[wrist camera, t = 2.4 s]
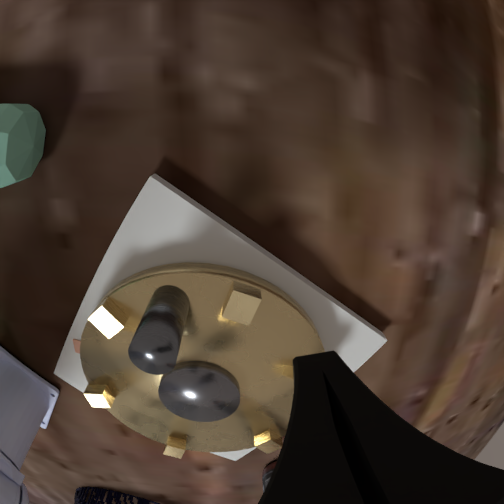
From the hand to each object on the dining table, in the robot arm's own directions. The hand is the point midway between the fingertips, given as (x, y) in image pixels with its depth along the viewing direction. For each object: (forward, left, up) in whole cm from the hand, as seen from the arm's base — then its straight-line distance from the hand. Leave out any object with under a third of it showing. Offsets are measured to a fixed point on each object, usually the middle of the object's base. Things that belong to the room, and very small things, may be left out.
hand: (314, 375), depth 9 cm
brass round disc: (-9, 0, -8) cm, 12 cm away
